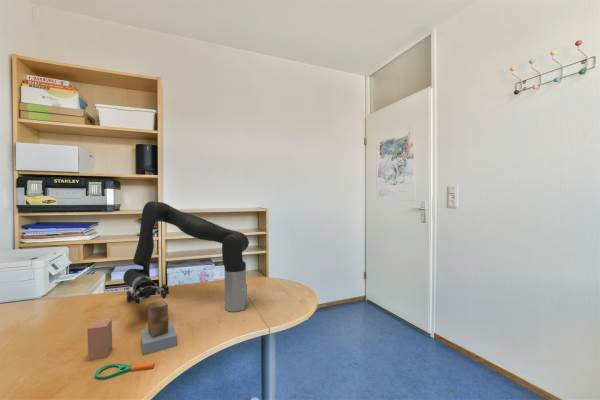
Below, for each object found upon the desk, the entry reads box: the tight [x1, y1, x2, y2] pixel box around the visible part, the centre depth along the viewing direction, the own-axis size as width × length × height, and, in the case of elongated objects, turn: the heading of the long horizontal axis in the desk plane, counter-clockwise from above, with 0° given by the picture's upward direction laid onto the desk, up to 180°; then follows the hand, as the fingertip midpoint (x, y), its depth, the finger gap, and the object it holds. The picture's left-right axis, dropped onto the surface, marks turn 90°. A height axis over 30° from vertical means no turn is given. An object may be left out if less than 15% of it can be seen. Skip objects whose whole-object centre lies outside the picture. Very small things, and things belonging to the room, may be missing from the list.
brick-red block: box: [86, 318, 113, 362], centre depth 88 cm, size 5×5×10 cm
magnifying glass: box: [94, 361, 156, 381], centre depth 81 cm, size 15×6×2 cm, turn 103°
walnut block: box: [147, 299, 169, 338], centre depth 95 cm, size 5×5×10 cm
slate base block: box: [140, 322, 178, 356], centre depth 95 cm, size 10×10×4 cm
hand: (151, 298), depth 103 cm, fingers open, 8 cm apart
